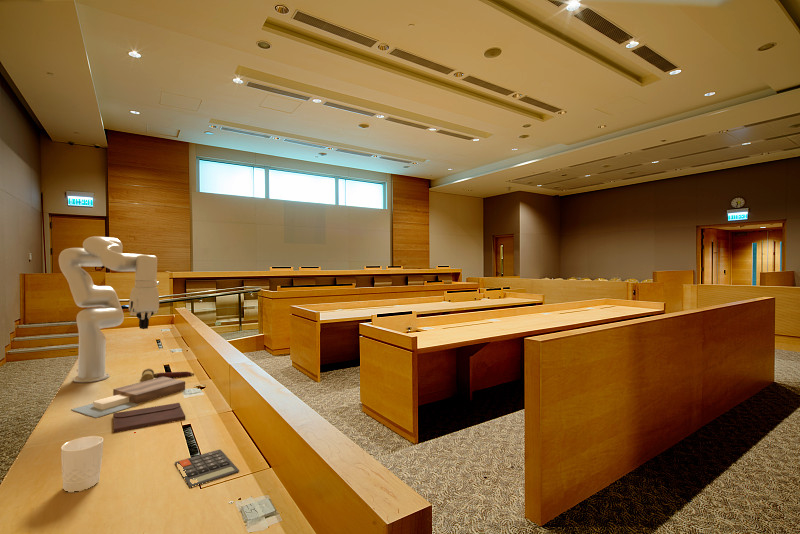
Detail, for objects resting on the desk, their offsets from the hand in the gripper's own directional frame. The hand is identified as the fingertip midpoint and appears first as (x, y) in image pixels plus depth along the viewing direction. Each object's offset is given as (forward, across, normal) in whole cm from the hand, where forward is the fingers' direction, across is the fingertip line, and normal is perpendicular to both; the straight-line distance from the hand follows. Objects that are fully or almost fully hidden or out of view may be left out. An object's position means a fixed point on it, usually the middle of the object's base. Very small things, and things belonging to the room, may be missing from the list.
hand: (143, 328), depth 163 cm
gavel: (+26, -15, -5) cm, 30 cm away
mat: (+25, +19, +11) cm, 33 cm away
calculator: (+24, +28, +79) cm, 87 cm away
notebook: (+25, +16, +34) cm, 45 cm away
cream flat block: (+25, +16, +10) cm, 31 cm away
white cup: (+24, +48, +61) cm, 81 cm away
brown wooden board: (+25, +2, +10) cm, 27 cm away
